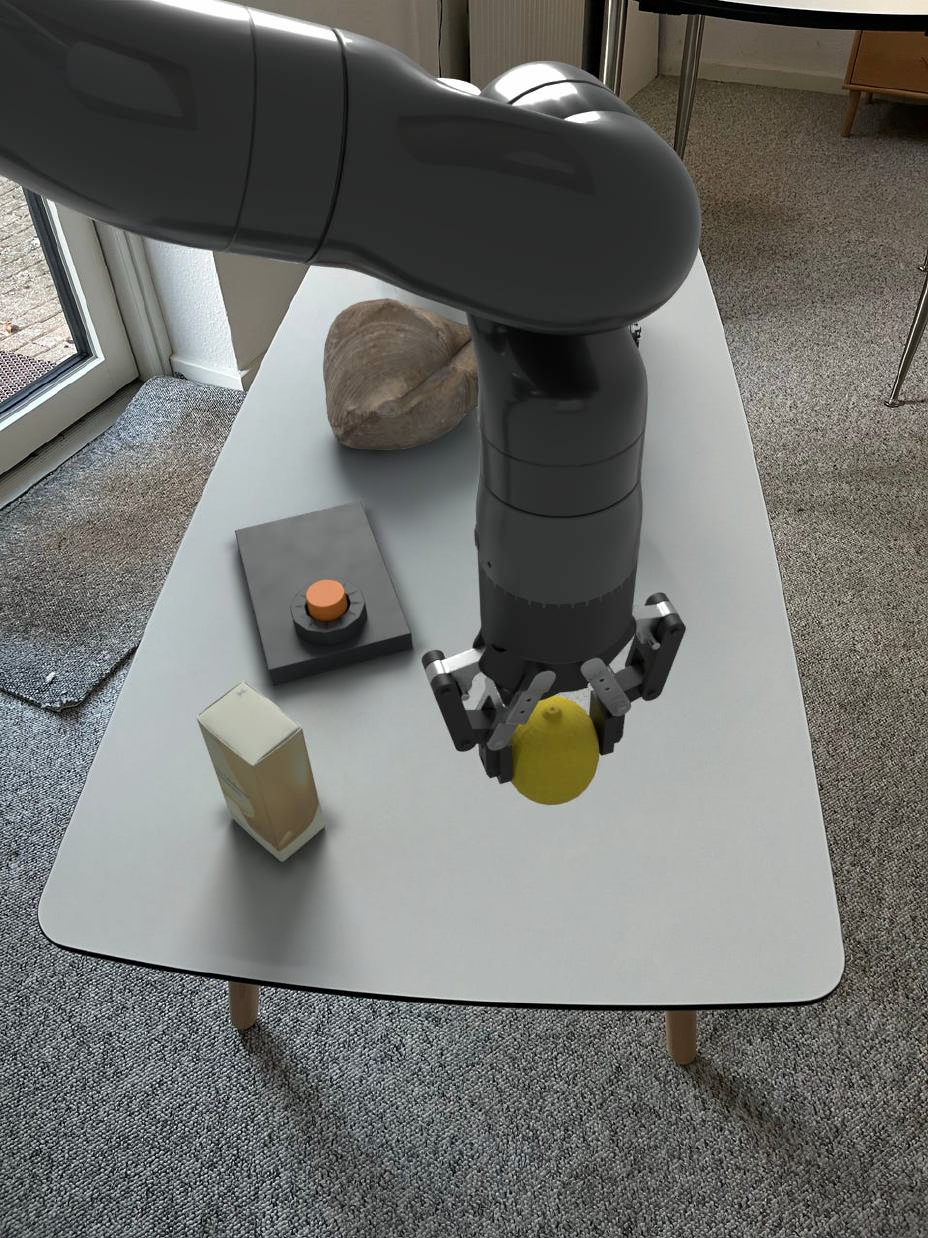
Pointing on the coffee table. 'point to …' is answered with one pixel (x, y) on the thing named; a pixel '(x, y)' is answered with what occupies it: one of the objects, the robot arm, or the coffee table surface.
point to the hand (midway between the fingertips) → (551, 756)
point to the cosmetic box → (262, 769)
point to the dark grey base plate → (302, 556)
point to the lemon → (554, 752)
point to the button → (326, 600)
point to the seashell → (397, 375)
